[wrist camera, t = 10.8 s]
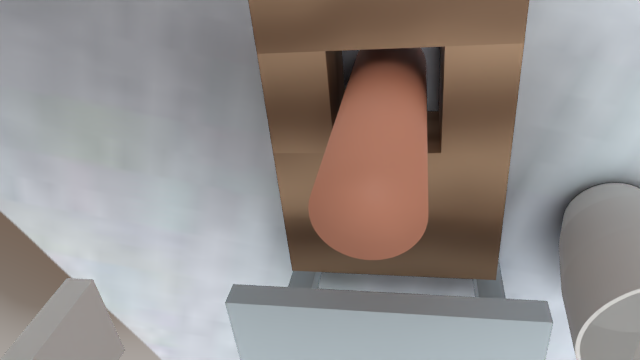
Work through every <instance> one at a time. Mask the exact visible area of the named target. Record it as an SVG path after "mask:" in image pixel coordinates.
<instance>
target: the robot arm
mask: <svg viewBox="0 0 640 360" xmlns="http://www.w3.org/2000/svg"><path fill="white" fill-rule="evenodd" d="M124 351H125V349H124V346H123V344H122V342H121V340H120V338H119V335H118V333H117V331H116V329H115V327H114V324H113V322H112V320H111V318H110V316H109V313H108V311H107V309H106V307H105V305H104V302H103V300H102V298H101V296H100V294H99V291H98V289H97V287H96V285H95V283H94V280H92V279H72V278H67V279H66V280H65V281H64V283H63V284H62V285H61V286H60V287H59V289H58V290H57V291H56V292H55V293H54V295H53V296H52V297H51V298H50V299H49V301H48V302H47V303H46V304H45V306H44V307H43V308H42V309H41V310H40V312H39V313H38V314H37V315H36V316H35V318H34V319H33V320H32V321H31V323H30V324H29V325H28V326H27V327H26V328H25V330H24V331H23V332H22V334H21V335H20V336H19V337H18V338H17V339H16V341H15V342H14V343H13V344H12V346H11V347H10V348H9V349H8V350H7V351H6V353H5V354H4V355H3V356H2V358H1V359H0V360H119V359H120V357H121V355H122V354H123V352H124ZM632 360H640V340H639V342H638V345H637V348H636V351H635V354H634V356H633V359H632Z"/></svg>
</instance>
